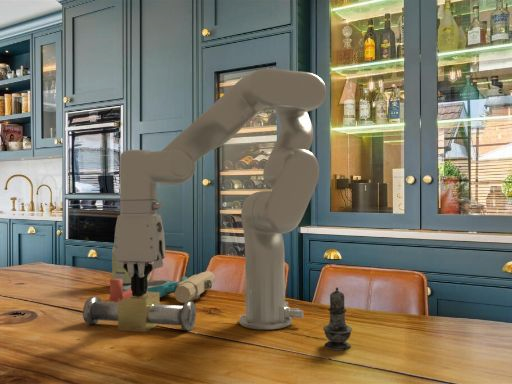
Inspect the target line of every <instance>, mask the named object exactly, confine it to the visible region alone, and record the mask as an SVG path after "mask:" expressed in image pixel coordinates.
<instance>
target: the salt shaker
mask: <svg viewBox="0 0 512 384" xmlns="http://www.w3.org/2000/svg"><path fill="white" fill-rule="evenodd" d="M328 311H329V322H328V324H326V325H324V326H322V331H324V334H325V337H326V339H328V341H327V342H325V343H324V347H325V348H326V349H328V350H332V351H348V350H349V349H351V348H352V345H351V344H350V343H349V342H347V341H348V340H349V339H350V337H351V334H352V333H351V332H352V331H353V328H352V327H351V326H349V325H347V322H346V312H347V309H346V308H345V295H344V293H343V292H341V291H340V290H339V288H338V287H337V286H336V287H335V291H333V292H331V293H330V294H329V308H328Z"/></svg>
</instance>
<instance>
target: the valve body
mask: <svg viewBox="0 0 512 384" xmlns="http://www.w3.org/2000/svg"><path fill="white" fill-rule="evenodd" d="M160 300H161V299H160V297H159V292H146V294H144V295H142V296H131V297H128V298H126V299H124V300H122V301H119V302H112V301H102V299H101V298H100V297H98V296H90V297H88V299H87V300H85V303H84V305H83V309H82V319H83V321H84V322H85V323H86V324H88V325H95V324H97V323H99V321H106V322H118V327H117V330H118V331H127V332H142V333H147V332H149V331H150V330H151V329H153V328H155V327H156V326H158V325H169V326H181V329H182V330H183V331H191V330H193V328H194V326H195V323H196V318H197V308H196V304H195V303H194V301H187V302H184V303H183V304H182V305H177V304H176V305H175V304H160Z"/></svg>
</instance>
